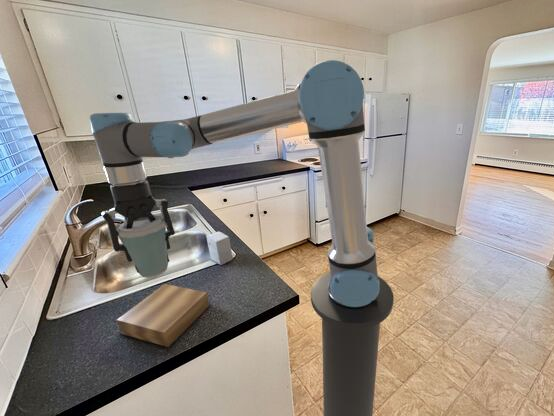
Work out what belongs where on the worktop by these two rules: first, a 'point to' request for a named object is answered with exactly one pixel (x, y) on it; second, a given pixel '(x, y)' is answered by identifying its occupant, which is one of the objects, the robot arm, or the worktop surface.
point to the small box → (219, 247)
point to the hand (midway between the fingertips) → (152, 264)
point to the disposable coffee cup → (146, 245)
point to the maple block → (164, 314)
